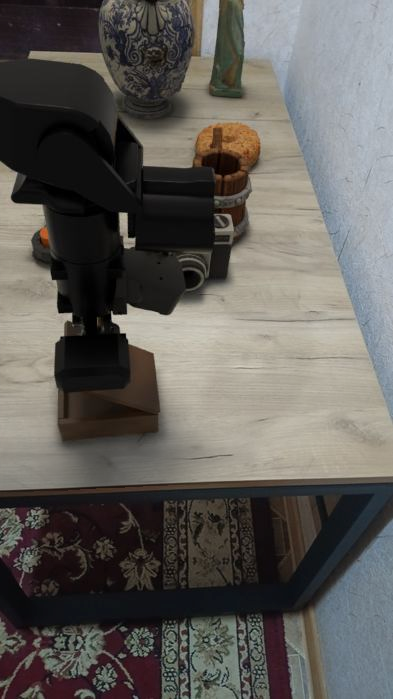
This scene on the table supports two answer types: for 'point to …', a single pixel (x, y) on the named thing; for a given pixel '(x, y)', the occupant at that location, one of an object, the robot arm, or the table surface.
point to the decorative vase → (147, 51)
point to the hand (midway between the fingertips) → (97, 354)
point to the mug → (228, 181)
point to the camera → (209, 256)
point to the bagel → (232, 140)
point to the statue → (228, 50)
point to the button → (44, 237)
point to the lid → (142, 379)
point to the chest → (100, 418)
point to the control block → (40, 248)
